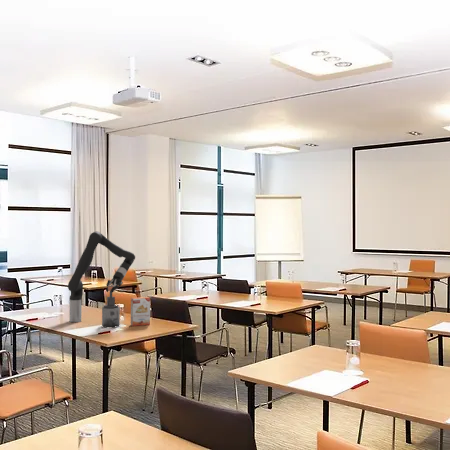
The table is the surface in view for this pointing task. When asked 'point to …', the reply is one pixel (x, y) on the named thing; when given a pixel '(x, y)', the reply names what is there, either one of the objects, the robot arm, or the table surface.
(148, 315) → the cracker box
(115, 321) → the detonator box
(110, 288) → the plunger
